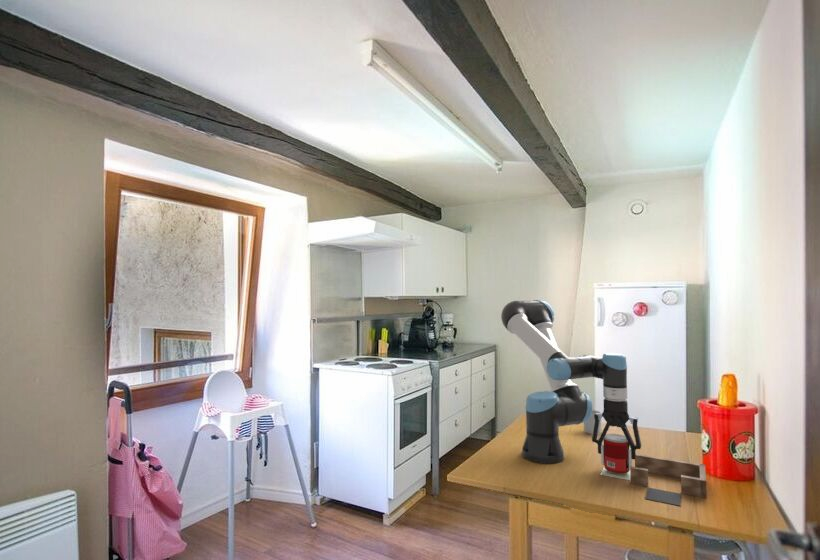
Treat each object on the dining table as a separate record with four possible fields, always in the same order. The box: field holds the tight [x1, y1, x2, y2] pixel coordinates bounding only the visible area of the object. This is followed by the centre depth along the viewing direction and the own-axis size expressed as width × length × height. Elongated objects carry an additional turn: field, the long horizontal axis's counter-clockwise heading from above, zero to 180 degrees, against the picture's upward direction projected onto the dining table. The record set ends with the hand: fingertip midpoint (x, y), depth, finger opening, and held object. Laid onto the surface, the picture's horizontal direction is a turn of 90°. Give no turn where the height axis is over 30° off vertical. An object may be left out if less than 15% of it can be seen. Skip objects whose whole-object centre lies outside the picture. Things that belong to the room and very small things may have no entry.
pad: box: [600, 466, 631, 481], centre depth 155 cm, size 9×10×1 cm
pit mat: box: [644, 486, 682, 507], centre depth 137 cm, size 9×9×1 cm
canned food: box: [603, 433, 630, 474], centre depth 156 cm, size 8×8×11 cm
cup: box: [583, 409, 603, 435], centre depth 201 cm, size 7×10×9 cm
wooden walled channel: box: [630, 453, 707, 499], centre depth 147 cm, size 20×15×5 cm
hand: (616, 465), depth 155 cm, fingers closed on canned food, 8 cm apart
